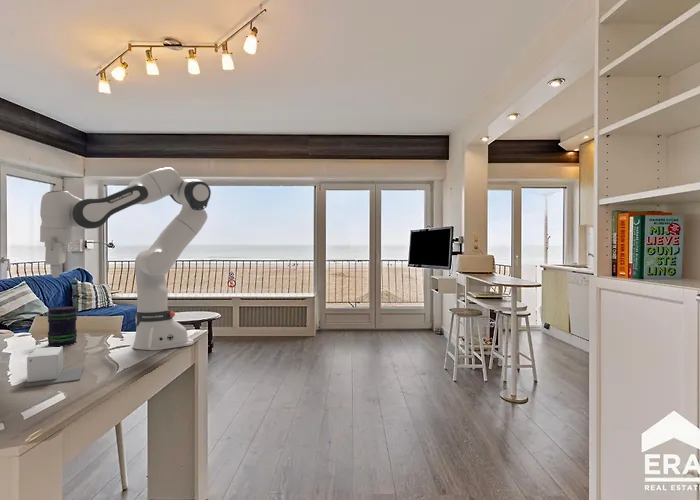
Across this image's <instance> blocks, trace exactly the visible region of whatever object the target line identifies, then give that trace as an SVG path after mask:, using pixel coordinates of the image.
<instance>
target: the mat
mask: <svg viewBox="0 0 700 500" xmlns="http://www.w3.org/2000/svg"><path fill="white" fill-rule="evenodd" d="M83 370H84V367H77V368H67V369H62V371H61V372H60V374H59V376H58V378H57V379H52V380H43V381H35V382H27V381H26V383H25V385H23V387H24V388H31V387H39V386H47V385H57V384H63V383H70V382H71V381H72V382H78V380H80V381H81V378H82V375H83Z"/></svg>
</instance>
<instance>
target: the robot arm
mask: <svg viewBox="0 0 700 500" xmlns="http://www.w3.org/2000/svg"><path fill="white" fill-rule="evenodd" d="M211 195H212V190H211V188H210V186H209V185H208V183H206V182H205V181H203V180H200V179H193V178H191V179H190V178H189V179H183V178H181V176H180V174H179V173H178V171H177V170H176V169H174V168H172V167H163V168H162V167H161V168H158V169H155V170H151V171H149V172H146V173H144V174H141V175H139V176H138V177H136V178H134V179H132V180H131V181H130V182H129V184H128V185H127V186H126V187H125V188H123V189H121V190H119V191H117V192H115V193H112V194H109V195H107V196H104V197H102V198H85V199H81V198H80V197H77V196H75V194H72V193H70V192H69V191H68V190H52V191H47V192H45V193H44V194H43V195H42V196H41V202H40V208H39V209H40V213H39V215H40V218H41V219H40V220H41V224H40V229H39V238H40V239H39V241H40V243H44V247H45V254H44V255H45V256H44V257H45V258H44V260H45V264H46V265H47V266H48V265H49V266H50V268H51V277H52V278H54V279H55V278H59V277H60V271H61V264H65V263H66V261H67V252H68V244H70V243H72V227H75V228H79V229H83V230H88V229H97V228H100V227H102V226H103V225H104V224H105V223H106V222H107V221H108V219H109V218H111V217H112V216H113V215H114V214H116V213H119V212H121V211H124V210H126V209H127V208H130V207H133V206H135V205H148V204H151V203H154V202H157V201H160V200H162V199H163V198H165V197H170V198H171V199H172V200H173V201H174V202H176V203H177V204H179V205H182V206H181V209H180V211H179V213H178V214H177V215H176V216H175V217H174V218H173V219H172V220H171V221H170V223H168V225H167V226H165V228H164V229H163V230H162V231H161V233H160V234H159V236H158V237H157V238H156V239H155V241H154V242H153V243H152V244H151V246H150V247H149V248H148V249H144V250H142V251H140V252H139V253H138V254H137V255H136V257H135V260H134V269H135V283H136V289H137V292H136V294H137V295H136V299H137V301H136V302H137V303H136V304H137V310H136V312H135V325H136V326H135V327H136V330H135V331H136V332H135V337H134V341H133V343H132V349H136V350H142V351H143V350H148V351H160V350H167V349H174V348H180V347H181V348H182V347H188V346H191V345H192V346H193V345H194V339H192V338H191V337H189V335H188V331H187V329H186V327H185V326H183V325H182V324H181V323H179V322H178V321H177V320H175V319H173V318H174V317H175V316H176V313H175V311H171V310H170V309H168V307H169V306H168V303H169V302H168V301H169V300H168V297H169V296H168V292H169V291H168V288H167V282H166V275H167V273H169V271H170V270H171V269H172V267H173V266H174V265H175V263H176V261H177V260H178V259H179V257H180V256H181V254H182V252H183V251H184V250H185V248H187V247H188V246H189V244H190V243H191V241H192V240H193V239H195V237H196V236H197V235H198V234H199V232H200V231H201V229H203V227H204V225H205V223H206V221H207V220H208V213H207V211H206V210H205V209H206V208H207V207H208V204H209V201H210V199H211Z"/></svg>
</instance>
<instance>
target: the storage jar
mask: <svg viewBox="0 0 700 500" xmlns="http://www.w3.org/2000/svg"><path fill="white" fill-rule="evenodd" d="M77 309H78V308H77V306H74V305H71V306H69V305H68V306H66V305H65V306H54V307H53V306H52V307H48V309H47V311H48V312H47V323H48V331H47V342H48V344H47V346H48V347H50V346H60V347H62V346H63V347H66V346H65V345H68V346H72V345H71V344H73V345H75V344H74V343H76V344H77V337H78V334H77V333H78V331H77V320H78V316H77V315H78V313H77V312H78V311H77Z"/></svg>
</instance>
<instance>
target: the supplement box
mask: <svg viewBox="0 0 700 500" xmlns="http://www.w3.org/2000/svg"><path fill="white" fill-rule="evenodd" d="M63 354H64V346H60V347H50V346H48V347H40V348H34V350H33V351H32V352H31V353H30V354H29V355H28V356H27V358H26V371H27V373H26V376H27V377H26V383H27V382H35V381H43V380H52V379H57V378H58V376H59V374H60V372H61V371H62V370H64V368H63V365H64V364H63V363H64V355H63Z"/></svg>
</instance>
